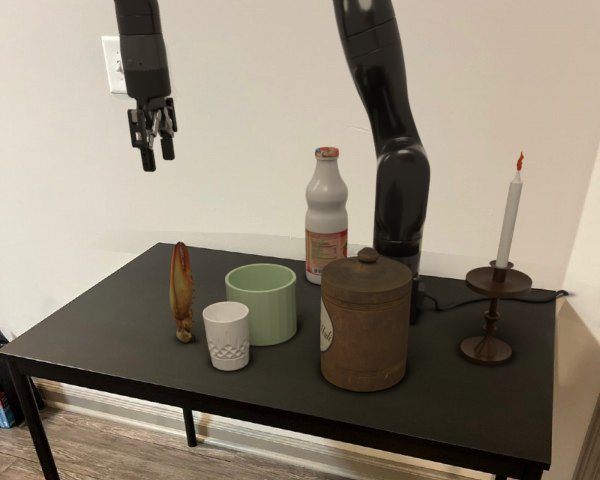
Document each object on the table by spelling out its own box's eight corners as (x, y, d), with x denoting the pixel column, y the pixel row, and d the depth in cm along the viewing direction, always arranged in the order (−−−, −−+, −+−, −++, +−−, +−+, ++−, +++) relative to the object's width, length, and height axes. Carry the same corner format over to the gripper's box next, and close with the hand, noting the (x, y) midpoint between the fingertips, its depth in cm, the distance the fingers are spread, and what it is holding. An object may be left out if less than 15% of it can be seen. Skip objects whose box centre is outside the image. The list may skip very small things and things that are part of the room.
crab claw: (186, 354, 112) (171, 250, 100) (163, 349, 114) (145, 246, 102) (205, 337, 117) (193, 236, 106) (182, 332, 119) (168, 233, 107)
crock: (300, 315, 124) (300, 264, 118) (292, 347, 113) (290, 293, 107) (237, 312, 125) (233, 262, 119) (223, 344, 115) (217, 290, 108)
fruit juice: (298, 274, 141) (296, 147, 125) (334, 266, 144) (335, 142, 128) (317, 289, 134) (317, 156, 118) (354, 281, 138) (358, 151, 122)
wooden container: (336, 342, 114) (338, 228, 102) (413, 356, 110) (425, 238, 97) (308, 383, 103) (306, 260, 91) (393, 400, 99) (404, 273, 86)
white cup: (234, 377, 105) (229, 326, 99) (199, 365, 109) (193, 315, 103) (260, 357, 111) (257, 307, 105) (226, 346, 114) (221, 297, 108)
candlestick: (508, 374, 104) (553, 162, 84) (446, 359, 109) (476, 154, 89) (522, 346, 112) (567, 146, 92) (464, 333, 117) (495, 139, 97)
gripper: (148, 70, 95) (163, 176, 105) (182, 60, 107) (193, 156, 116) (104, 70, 97) (123, 174, 106) (143, 60, 108) (157, 155, 117)
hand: (160, 165), depth 111 cm, fingers open, 8 cm apart
